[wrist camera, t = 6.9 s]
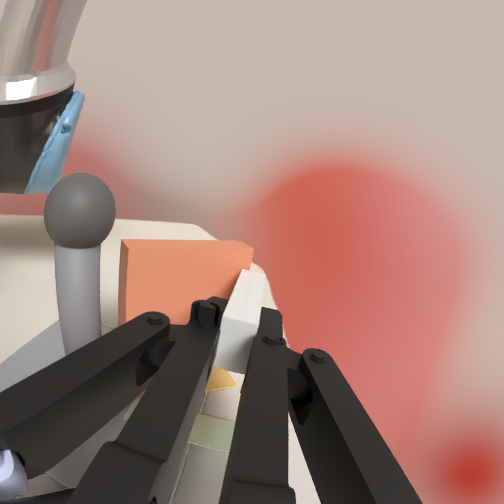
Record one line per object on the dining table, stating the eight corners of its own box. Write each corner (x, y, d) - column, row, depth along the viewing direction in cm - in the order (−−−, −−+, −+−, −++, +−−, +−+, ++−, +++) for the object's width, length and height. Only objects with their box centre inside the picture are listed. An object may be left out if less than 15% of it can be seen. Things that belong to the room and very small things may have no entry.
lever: (70, 409, 11) (45, 173, 7) (60, 369, 13) (49, 169, 10) (236, 370, 19) (277, 200, 16) (209, 344, 21) (239, 190, 18)
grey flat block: (-26, 408, 7) (-36, 391, 6) (72, 324, 20) (71, 309, 20) (224, 546, 6) (229, 541, 6) (250, 384, 20) (254, 369, 20)
